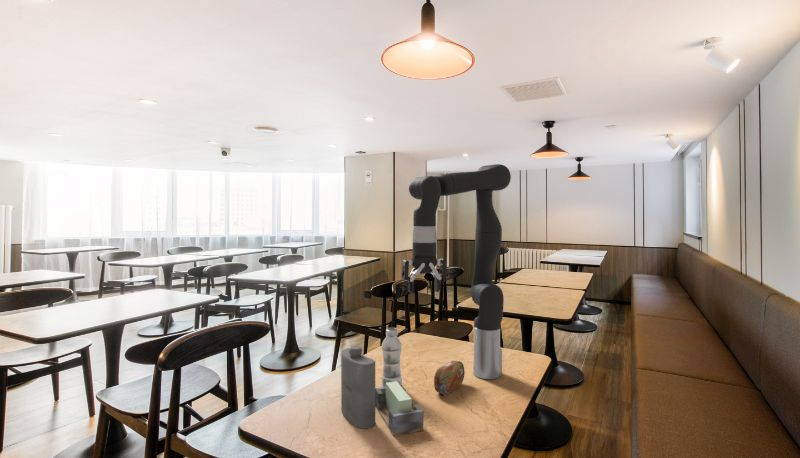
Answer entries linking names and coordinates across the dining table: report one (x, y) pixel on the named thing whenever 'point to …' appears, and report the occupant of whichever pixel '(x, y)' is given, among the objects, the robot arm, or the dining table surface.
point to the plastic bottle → (391, 357)
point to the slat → (397, 398)
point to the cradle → (398, 415)
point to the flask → (358, 387)
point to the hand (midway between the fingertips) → (424, 292)
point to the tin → (449, 377)
